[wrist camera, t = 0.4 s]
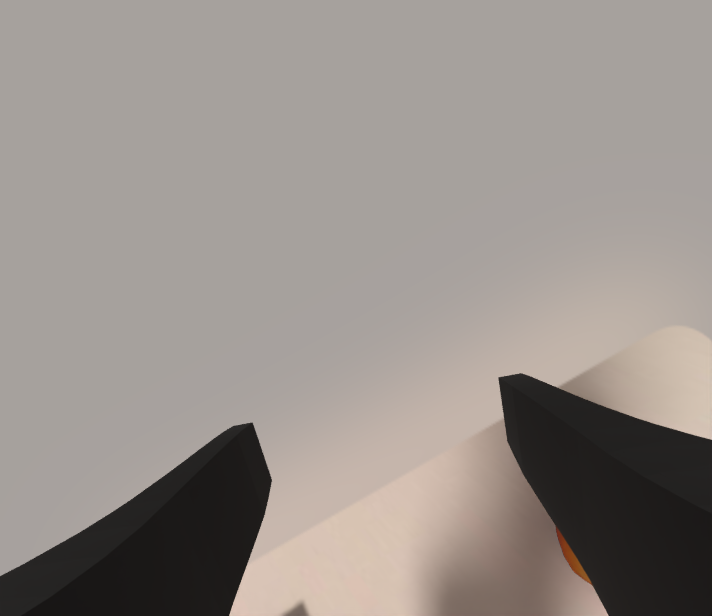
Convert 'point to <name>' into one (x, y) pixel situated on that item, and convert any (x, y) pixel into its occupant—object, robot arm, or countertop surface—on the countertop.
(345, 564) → the countertop surface
